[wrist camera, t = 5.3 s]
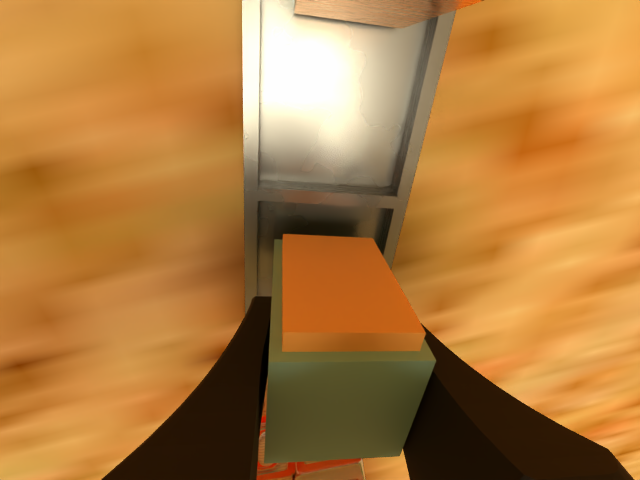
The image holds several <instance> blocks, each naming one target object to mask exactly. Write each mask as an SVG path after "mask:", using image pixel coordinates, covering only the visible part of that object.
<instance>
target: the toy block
mask: <svg viewBox="0 0 640 480" xmlns="http://www.w3.org/2000/svg"><path fill="white" fill-rule="evenodd" d="M425 334H426V332H425V330H424V329H423V327H422V325H421V323H420V321H419V320H418V318H417V316H416V314H415V312H414V311H413V309H412V307H411V305H410V304H409V302H408V300H407V298H406V296H405V295H404V293H403V291H402V289H401V288H400V286H399V284H398V282H397V280H396V279H395V277H394V275H393V273H392V271H391V270H390V268H389V266H388V264H387V263H386V261H385V259H384V257H383V255H382V254H381V252H380V250H379V248H378V247H377V245H376V243H375V241H374V239H373V238H360V237H339V236H318V235H297V234H283V240H280V239H274V259H273V280H272V301H271V322H270V342H269V363H268V385H267V408H266V430H265V452H264V464H268V463H286V462H304V461H322V460H339V459H357V458H375V457H393V456H400V454H401V451H402V449H403V446H404V444H405V441H406V438H407V436H408V433H409V431H410V428H411V425H412V423H413V420H414V418H415V415H416V412H417V410H418V407H419V404H420V402H421V399H422V397H423V394H424V391H425V389H426V386H427V384H428V381H429V378H430V376H431V373H432V371H433V368H434V365H435V363H436V359H435V357H434V356H433V354H432V352H431V350H430V348H429V346H428V344H427V343H426V341H425V339H424V337H425Z"/></svg>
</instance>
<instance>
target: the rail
mask: <svg viewBox="0 0 640 480" xmlns="http://www.w3.org/2000/svg"><path fill="white" fill-rule="evenodd" d="M481 1H484V0H242V38H243V139H244V241H245V315H246V313H247V311H248V309H249V306H250V304H251V301H252V298H254V297H255V296H272V280H273V259H274V239H280V240H283V234H297V235H318V236H339V237H360V238H373V239H374V241H375V243H376V245H377V247H378V248H379V250H380V252H381V254H382V255H383V257H384V259H385V261H386V263H387V264H388V266H389V268H390V270H391V267H392V263H393V259H394V255H395V251H396V247H397V243H398V239H399V235H400V231H401V227H402V223H403V219H404V216H405V212H406V208H407V204H408V200H409V196H410V192H411V188H412V184H413V180H414V176H415V172H416V168H417V164H418V160H419V156H420V152H421V148H422V144H423V140H424V136H425V132H426V128H427V124H428V120H429V116H430V112H431V108H432V104H433V100H434V96H435V92H436V88H437V84H438V80H439V76H440V72H441V68H442V64H443V60H444V56H445V52H446V48H447V44H448V40H449V37H450V33H451V29H452V25H453V21H454V17H455V13H456V10H457V9H460V8H463V7H466V6H469V5H472V4H475V3H478V2H481Z"/></svg>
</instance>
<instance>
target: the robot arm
mask: <svg viewBox="0 0 640 480" xmlns="http://www.w3.org/2000/svg"><path fill="white" fill-rule="evenodd" d="M271 301H272V296H255V297H254V298H252V301H251V304H250V306H249V309H248V311H247V313H246V315H245V317H244V319H243V321H242V323H241V325H240V326H239V328H238V330H237V331H236V333H235V335H234V337H233V338H232V340H231V341H230V343H229V344H228V346H227V347H226V349H225V350H224V352H223V353H222V355H221V356H220V358H219V359H218V361H217V362H216V363H215V365H214V366H213V367H212V369H211V370H210V371H209V373H208V374H207V375H206V376H205V378H204V379H203V380H202V381H201V383H200V384H199V385H198V386H197V387H196V389H195V390H194V391H193V392H192V393H191V394H190V395H189V397H188V398H187V399H186V400H185V401H184V402H183V403H182V404H181V406H180V407H179V408H178V409H177V410H176V411H175V412H174V413H173V414H172V415H171V416H170V417H169V418H168V419H167V420H166V421H165V422H164V423H163V424H162V425H161V426H160V427H159V428H158V429H157V430H156V431H155V432H154V433H153V434H152V435H151V436H150V437H149V438H148V439H147V440H146V441H144V442H143V443H142V444H141V445H140V446H139V447H138V448H137V449H136V450H134V451H133V452H132V453H131V454H130V455H129V456H128V457H127V458H125V459H124V460H123V461H122V462H121V463H120V464H119V465H117V466H116V467H115V468H114V469H113V470H112V471H111V472H109V473H108V474H107V475H106V476H105V477H104V478H103V479H102V480H257V466H258V450H259V436H260V427H261V420H262V413H263V406H264V399H265V392H266V385H267V378H268V363H269V342H270V322H271ZM421 325H422V324H421ZM422 327H423V329H424V330H425V332H426V334H425V337H424V339H425V341H426V343H427V344H428V346H429V348H430V350H431V352H432V354H433V356H434V357H435V359H436V363H435V365H434V368H433V371H432V373H431V376H430V378H429V381H428V384H427V386H426V389H425V391H424V394H423V397H422V399H421V402H420V404H419V407H418V410H417V412H416V415H415V418H414V420H413V423H412V425H411V428H410V431H409V433H408V436H407V438H406V441H405V444H404V446H403V451H404V455H405V459H406V463H407V468H408V472H409V477H410V480H634V479H633V478H632V476H631V475H630V474H629V473H628V472H627V471H626V469H625V468H624V467H623V466H622V465H621V463H620V462H619V461H618V460H617V459H616V458H615V456H614V455H613V454H612V453H611V452H610V451H609V450H608V449H607V448H605V447H603V446H601V445H599V444H597V443H595V442H593V441H591V440H589V439H587V438H585V437H583V436H581V435H579V434H577V433H575V432H573V431H571V430H569V429H567V428H565V427H564V426H562V425H560V424H558V423H556V422H555V421H553V420H551V419H549V418H548V417H546V416H544V415H542V414H541V413H539V412H537V411H535V410H534V409H532V408H530V407H529V406H527V405H525V404H524V403H522V402H521V401H519V400H517V399H516V398H514V397H513V396H511V395H510V394H508V393H507V392H505V391H504V390H502V389H501V388H499V387H498V386H496V385H495V384H493V383H492V382H490V381H489V380H488V379H486V378H485V377H483V376H482V375H481V374H479V373H478V372H477V371H475V370H474V369H473V368H471V367H470V366H469V365H468V364H466V363H465V362H464V361H463V360H461V359H460V358H459V357H458V356H457V355H455V354H454V353H453V352H452V351H451V350H449V349H448V348H447V347H446V346H445V345H444V344H443V343H441V342H440V341H439V340H438V339H437V338H436V337H435V336H434V335H433V334H432V333H431V332H429V331H428V330H427V329H426V328H425V327H424V326H423V325H422Z"/></svg>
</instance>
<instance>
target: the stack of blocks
mask: <svg viewBox="0 0 640 480" xmlns="http://www.w3.org/2000/svg"><path fill="white" fill-rule="evenodd" d="M267 385H268V378H267ZM267 385H266V392H265V399H264V406H263V413H262V420H261V427H260V436H259V450H258V466H257V480H366V478H365V472H364V465H363V458H357V459H339V460H322V461H304V462H286V463H268V464H264V452H265V430H266V408H267Z"/></svg>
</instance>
